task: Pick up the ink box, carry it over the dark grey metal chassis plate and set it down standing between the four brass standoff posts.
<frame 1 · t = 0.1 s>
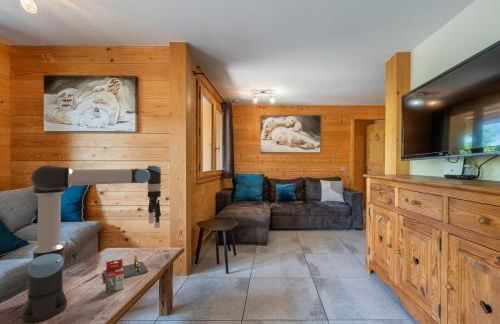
hand: (154, 225, 144), 28 cm above the table, fingers open, 13 cm apart
chassis: (125, 272, 143), on the table
ink box: (114, 290, 123), on the table
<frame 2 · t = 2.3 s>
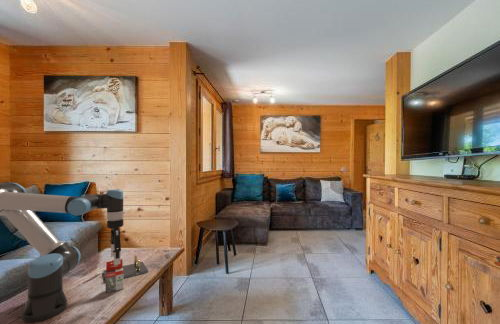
hand: (115, 260, 123), 15 cm above the table, fingers open, 13 cm apart
nothing on the table moved.
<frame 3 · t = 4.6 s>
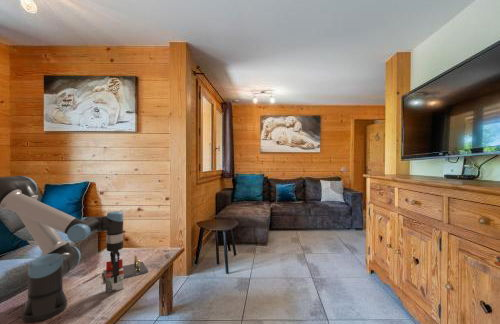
hand: (114, 286, 123), 1 cm above the table, fingers closed on ink box, 4 cm apart
ink box: (114, 290, 123), on the table, touching gripper
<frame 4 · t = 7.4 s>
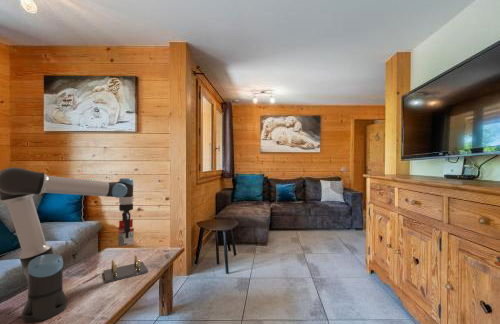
hand: (126, 242, 143), 18 cm above the table, fingers closed on ink box, 4 cm apart
ink box: (126, 244, 143), point 17 cm above the table, touching gripper
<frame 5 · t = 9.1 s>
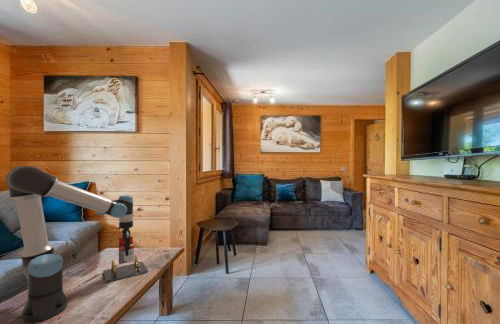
hand: (126, 259, 143), 8 cm above the table, fingers closed on ink box, 4 cm apart
ink box: (126, 262, 143), point 6 cm above the table, touching gripper
when the fingers open (4 cm above the table, at t = 10.5 s): ink box drops 1 cm, resting on chassis.
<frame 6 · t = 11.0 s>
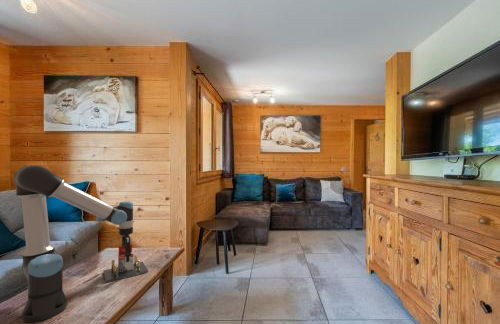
hand: (125, 263, 143), 5 cm above the table, fingers open, 10 cm apart
ink box: (125, 270, 143), point 1 cm above the table, touching chassis
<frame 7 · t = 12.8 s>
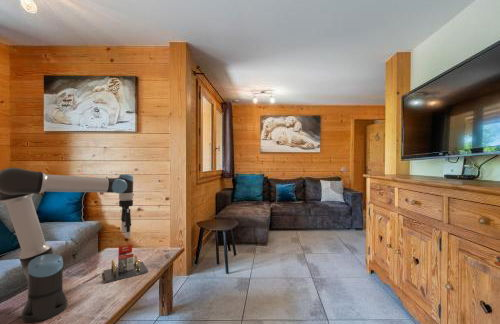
hand: (125, 234, 143), 23 cm above the table, fingers open, 13 cm apart
nothing on the table moved.
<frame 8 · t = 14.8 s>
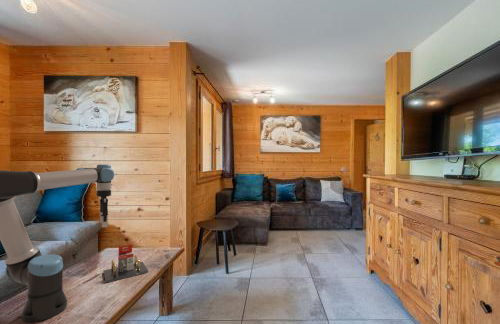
hand: (103, 224, 143), 29 cm above the table, fingers open, 13 cm apart
nothing on the table moved.
at the end: ink box 0.0 cm off-centre on the chassis, point 1.0 cm above the chassis's base; ink box tilted 0°; the gripper is holding nothing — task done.
